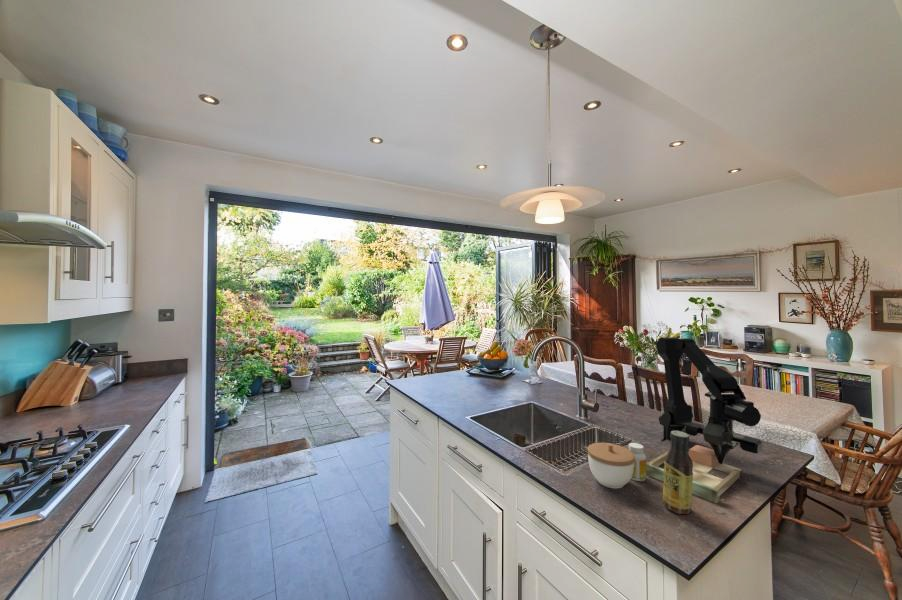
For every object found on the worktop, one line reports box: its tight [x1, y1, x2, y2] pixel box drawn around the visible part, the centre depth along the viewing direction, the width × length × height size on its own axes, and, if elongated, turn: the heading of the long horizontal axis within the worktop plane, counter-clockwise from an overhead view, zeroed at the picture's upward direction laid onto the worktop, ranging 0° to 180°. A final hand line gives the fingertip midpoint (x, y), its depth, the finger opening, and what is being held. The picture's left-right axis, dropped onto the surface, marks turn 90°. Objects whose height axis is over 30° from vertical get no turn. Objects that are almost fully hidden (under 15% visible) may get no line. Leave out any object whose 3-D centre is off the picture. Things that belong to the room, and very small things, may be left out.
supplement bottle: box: [628, 442, 647, 482], centre depth 103 cm, size 5×5×10 cm
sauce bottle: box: [662, 431, 693, 515], centre depth 88 cm, size 7×6×20 cm
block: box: [688, 444, 718, 467], centre depth 111 cm, size 6×6×4 cm
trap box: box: [646, 450, 742, 504], centre depth 105 cm, size 18×25×3 cm
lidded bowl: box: [587, 442, 635, 490], centre depth 101 cm, size 13×13×11 cm
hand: (721, 463), depth 107 cm, fingers closed
